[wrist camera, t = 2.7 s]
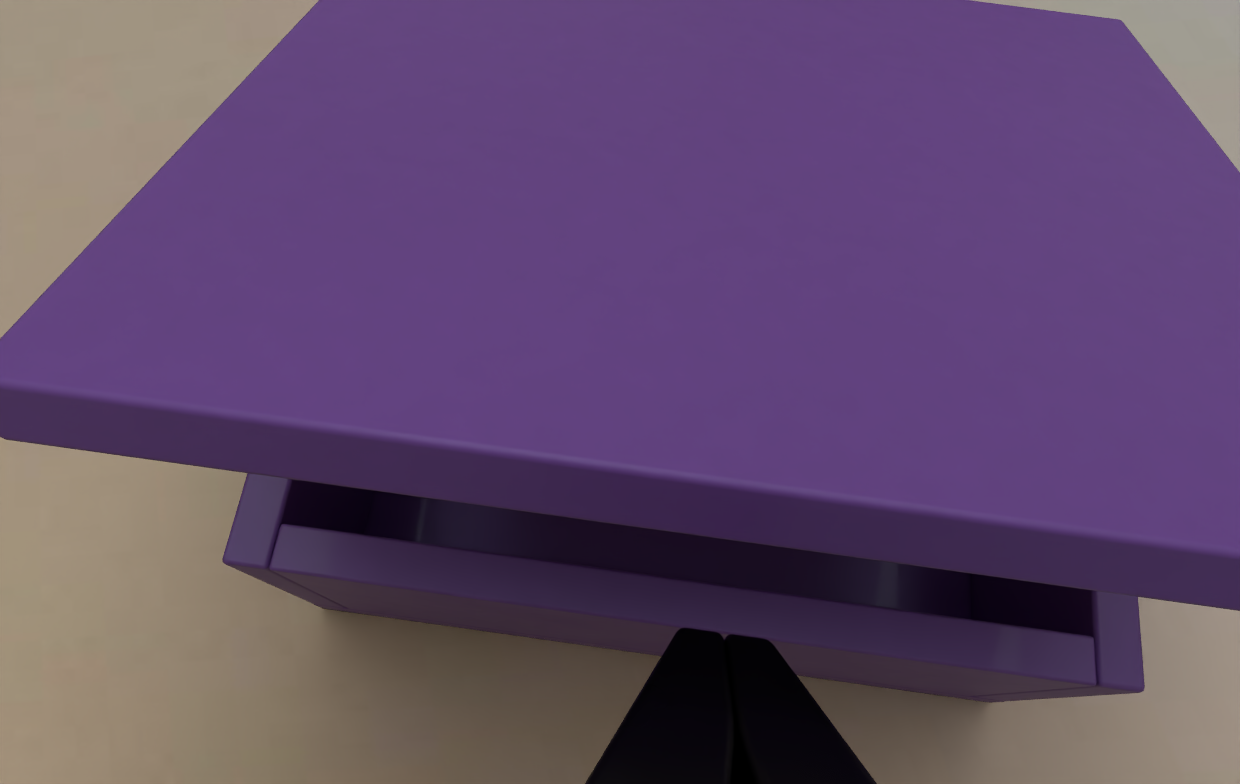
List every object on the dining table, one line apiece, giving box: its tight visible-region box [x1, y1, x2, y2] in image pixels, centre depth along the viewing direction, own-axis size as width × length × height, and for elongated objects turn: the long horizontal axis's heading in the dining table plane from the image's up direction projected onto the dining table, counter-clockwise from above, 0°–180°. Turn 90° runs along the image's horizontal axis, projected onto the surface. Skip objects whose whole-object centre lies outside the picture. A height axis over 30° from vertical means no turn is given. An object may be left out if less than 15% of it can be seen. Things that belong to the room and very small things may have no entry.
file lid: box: [0, 0, 1240, 611], centre depth 12 cm, size 12×13×1 cm
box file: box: [223, 473, 1144, 702], centre depth 17 cm, size 11×13×5 cm
